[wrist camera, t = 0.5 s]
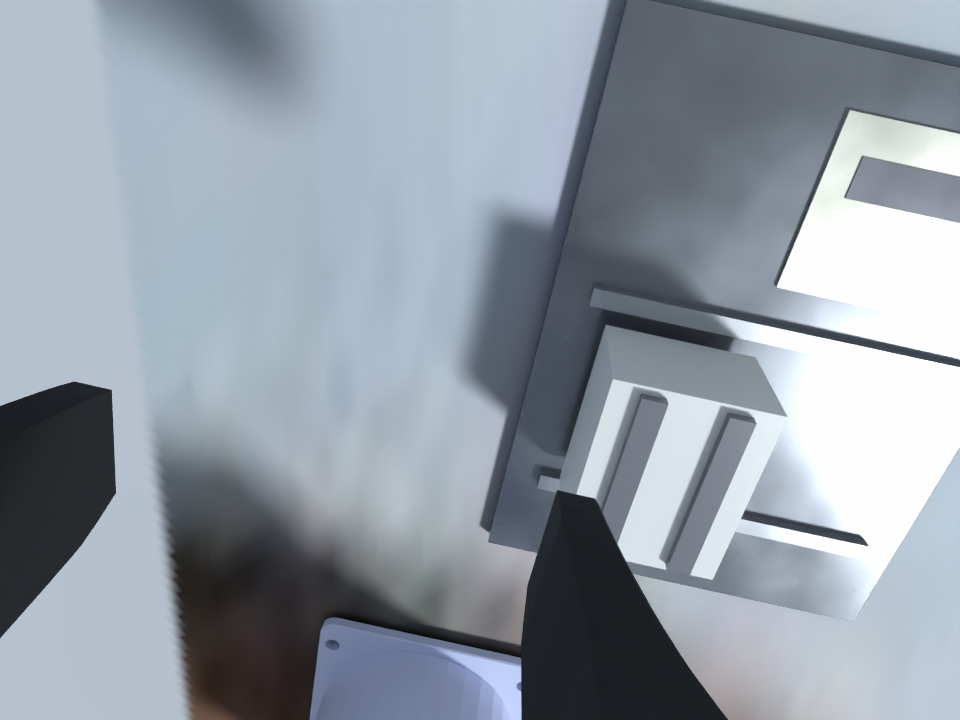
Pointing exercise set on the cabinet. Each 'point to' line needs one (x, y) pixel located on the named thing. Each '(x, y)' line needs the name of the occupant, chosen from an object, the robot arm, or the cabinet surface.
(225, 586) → the cabinet surface
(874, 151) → the label board
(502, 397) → the cabinet surface
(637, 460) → the white grey striped block
